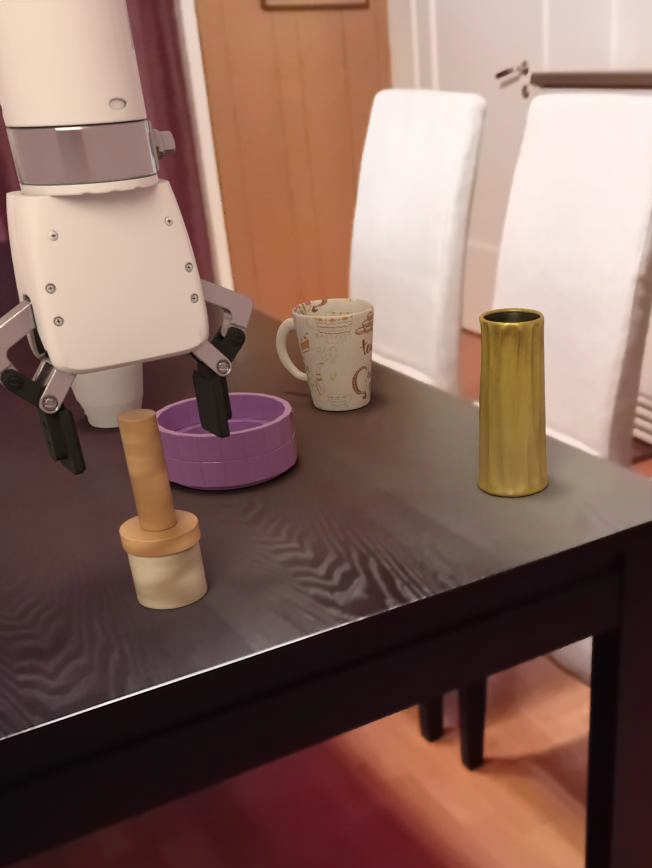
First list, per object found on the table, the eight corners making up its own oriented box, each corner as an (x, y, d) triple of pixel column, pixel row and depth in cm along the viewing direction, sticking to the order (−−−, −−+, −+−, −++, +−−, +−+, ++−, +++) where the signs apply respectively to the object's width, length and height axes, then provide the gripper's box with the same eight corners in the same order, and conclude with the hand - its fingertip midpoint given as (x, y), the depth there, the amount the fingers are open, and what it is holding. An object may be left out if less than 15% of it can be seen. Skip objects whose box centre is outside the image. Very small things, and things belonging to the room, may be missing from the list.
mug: (351, 419, 103) (341, 319, 98) (255, 403, 109) (242, 308, 104) (395, 397, 110) (389, 302, 104) (303, 383, 115) (292, 292, 110)
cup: (107, 405, 110) (87, 310, 104) (171, 411, 107) (153, 315, 102) (57, 428, 103) (33, 329, 98) (124, 436, 101) (102, 334, 95)
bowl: (195, 505, 85) (185, 446, 82) (140, 466, 93) (129, 411, 91) (322, 470, 91) (316, 414, 88) (260, 436, 99) (252, 384, 97)
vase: (529, 466, 91) (529, 303, 83) (560, 490, 86) (563, 318, 78) (466, 478, 89) (461, 311, 81) (495, 503, 84) (492, 328, 76)
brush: (151, 619, 68) (111, 433, 61) (123, 591, 72) (82, 413, 65) (222, 595, 71) (191, 415, 64) (192, 570, 74) (159, 396, 68)
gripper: (200, 145, 64) (243, 408, 73) (-95, 171, 55) (-7, 467, 64) (254, 150, 59) (293, 433, 67) (-62, 179, 50) (29, 501, 59)
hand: (147, 450), depth 66 cm, fingers open, 9 cm apart
